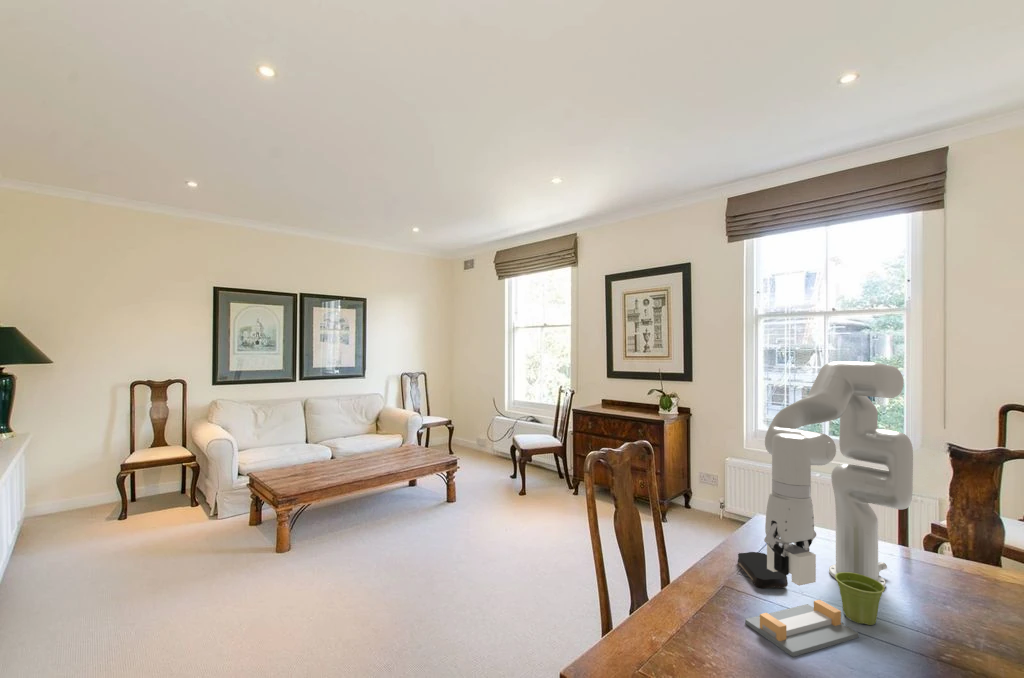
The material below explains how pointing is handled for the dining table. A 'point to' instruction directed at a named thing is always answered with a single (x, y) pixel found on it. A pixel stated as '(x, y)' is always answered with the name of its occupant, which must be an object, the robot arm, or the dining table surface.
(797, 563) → the block
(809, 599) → the dining table surface
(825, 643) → the rail board
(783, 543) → the robot arm
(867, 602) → the plant pot
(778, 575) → the black sponge
